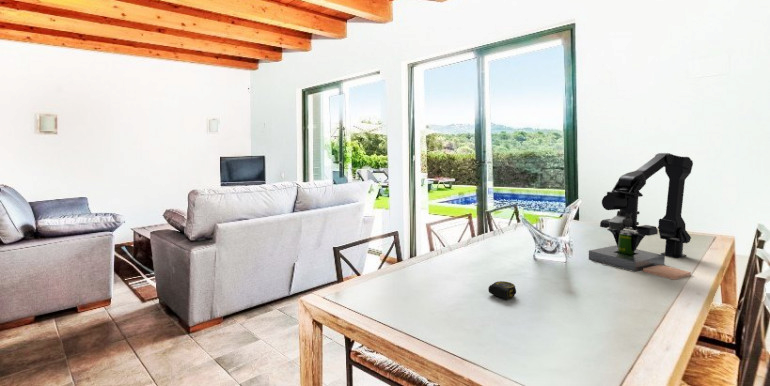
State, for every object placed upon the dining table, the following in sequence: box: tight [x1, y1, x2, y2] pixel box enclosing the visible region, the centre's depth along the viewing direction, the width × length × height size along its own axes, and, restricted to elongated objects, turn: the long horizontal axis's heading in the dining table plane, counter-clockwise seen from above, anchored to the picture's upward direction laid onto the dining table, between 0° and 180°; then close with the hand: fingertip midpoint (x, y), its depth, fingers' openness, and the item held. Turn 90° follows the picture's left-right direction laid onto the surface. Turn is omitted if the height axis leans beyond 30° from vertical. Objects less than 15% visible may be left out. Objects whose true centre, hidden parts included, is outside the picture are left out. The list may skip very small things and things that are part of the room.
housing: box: [588, 244, 666, 273], centre depth 150 cm, size 18×18×4 cm
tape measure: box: [487, 281, 517, 300], centre depth 117 cm, size 7×7×4 cm
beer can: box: [618, 229, 635, 256], centre depth 150 cm, size 5×5×12 cm
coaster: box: [642, 265, 692, 281], centre depth 136 cm, size 10×10×1 cm
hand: (626, 249), depth 150 cm, fingers closed on beer can, 5 cm apart
